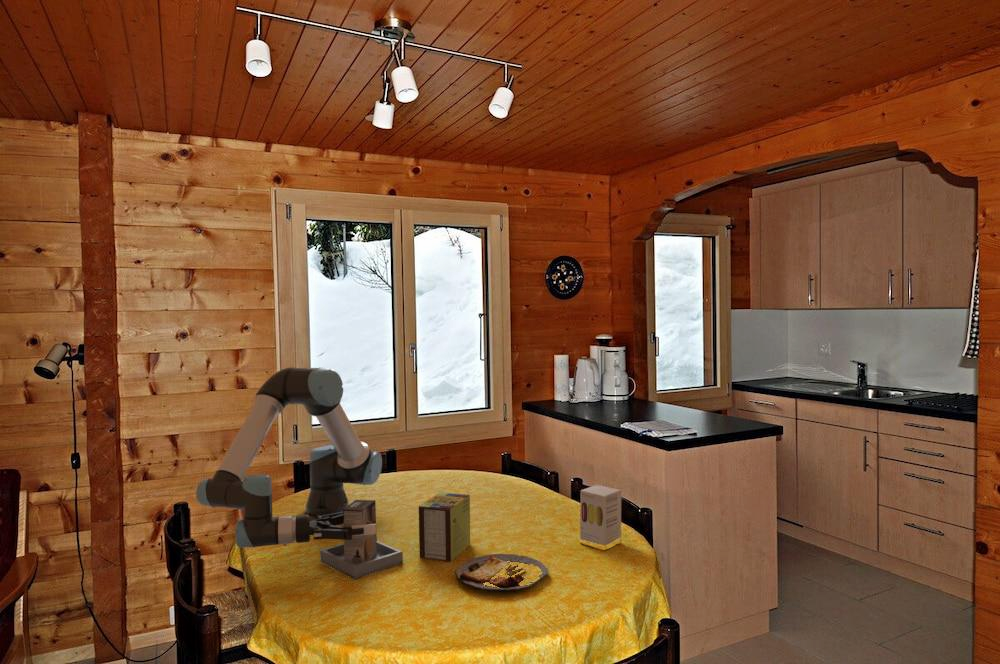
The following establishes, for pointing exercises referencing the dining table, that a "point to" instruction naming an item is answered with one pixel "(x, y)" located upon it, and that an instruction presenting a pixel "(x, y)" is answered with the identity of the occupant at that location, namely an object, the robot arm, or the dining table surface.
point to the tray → (379, 562)
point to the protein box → (444, 526)
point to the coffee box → (361, 545)
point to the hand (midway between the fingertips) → (374, 522)
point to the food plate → (495, 571)
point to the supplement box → (600, 514)
